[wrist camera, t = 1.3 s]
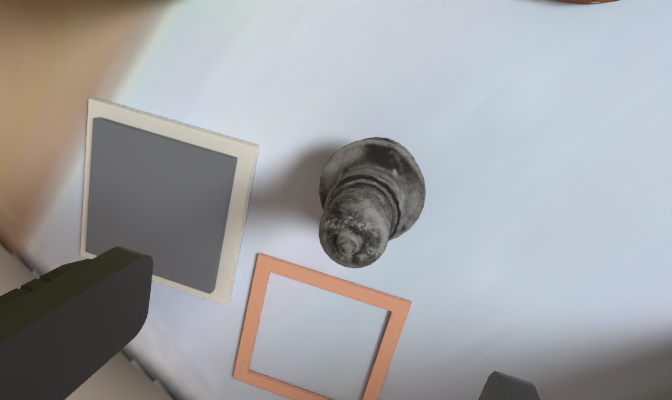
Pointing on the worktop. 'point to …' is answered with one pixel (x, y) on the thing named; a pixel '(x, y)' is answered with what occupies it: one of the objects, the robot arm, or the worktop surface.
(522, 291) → the worktop surface
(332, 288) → the marked box
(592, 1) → the slice of bread
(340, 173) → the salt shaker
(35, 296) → the robot arm
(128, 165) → the ink pad
